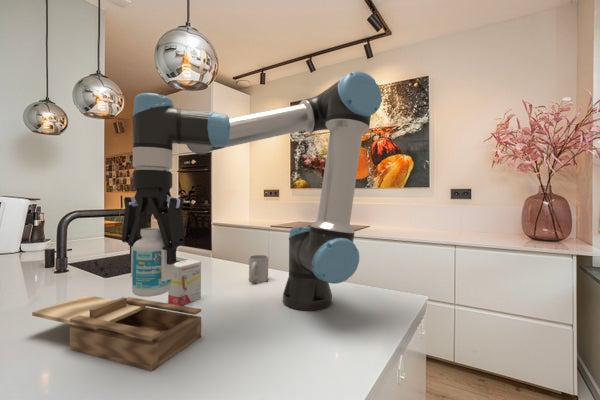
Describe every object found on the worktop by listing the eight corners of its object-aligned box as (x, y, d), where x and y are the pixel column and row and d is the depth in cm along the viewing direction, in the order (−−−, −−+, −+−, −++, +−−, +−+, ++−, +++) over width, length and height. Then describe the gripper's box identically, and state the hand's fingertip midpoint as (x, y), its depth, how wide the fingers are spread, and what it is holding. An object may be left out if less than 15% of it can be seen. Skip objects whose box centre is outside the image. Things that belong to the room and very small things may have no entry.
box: (201, 336, 67) (201, 308, 67) (152, 371, 54) (152, 336, 54) (128, 322, 75) (128, 296, 74) (69, 349, 61) (69, 318, 61)
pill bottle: (131, 300, 58) (131, 231, 58) (133, 289, 64) (133, 227, 64) (172, 294, 61) (173, 230, 61) (170, 284, 68) (170, 226, 68)
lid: (145, 308, 71) (145, 297, 71) (96, 330, 60) (96, 316, 60) (86, 297, 78) (86, 287, 78) (32, 315, 67) (31, 303, 67)
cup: (270, 278, 115) (270, 255, 114) (261, 286, 105) (261, 261, 105) (253, 277, 116) (253, 254, 116) (242, 284, 107) (242, 260, 106)
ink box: (178, 307, 85) (178, 266, 84) (167, 304, 87) (167, 264, 87) (201, 298, 92) (202, 260, 92) (190, 295, 95) (191, 258, 94)
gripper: (204, 170, 63) (203, 277, 63) (132, 171, 69) (131, 268, 70) (179, 167, 55) (178, 288, 56) (101, 169, 62) (101, 276, 63)
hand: (152, 277), depth 63 cm, fingers closed on pill bottle, 7 cm apart
